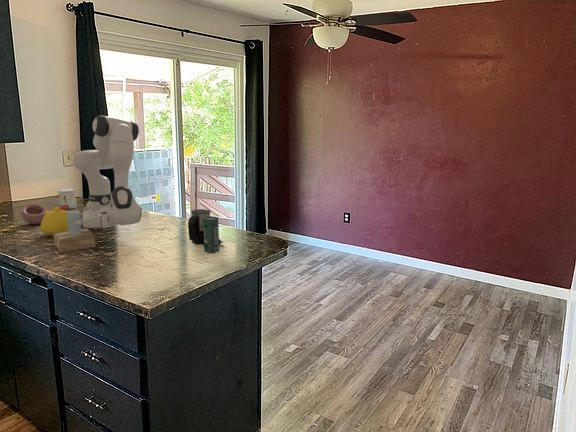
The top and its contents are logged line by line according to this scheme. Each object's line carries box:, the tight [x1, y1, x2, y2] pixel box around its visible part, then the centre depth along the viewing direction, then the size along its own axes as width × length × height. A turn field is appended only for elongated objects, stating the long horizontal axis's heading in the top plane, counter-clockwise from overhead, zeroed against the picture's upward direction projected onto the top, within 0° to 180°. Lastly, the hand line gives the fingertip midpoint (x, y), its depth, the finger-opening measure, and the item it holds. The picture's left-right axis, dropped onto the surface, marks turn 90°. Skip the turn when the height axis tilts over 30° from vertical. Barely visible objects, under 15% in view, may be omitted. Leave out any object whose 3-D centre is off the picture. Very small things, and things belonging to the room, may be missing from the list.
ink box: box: [58, 188, 78, 210], centre depth 274 cm, size 9×5×12 cm, turn 138°
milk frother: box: [187, 208, 224, 246], centre depth 201 cm, size 14×16×15 cm
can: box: [203, 215, 220, 254], centre depth 189 cm, size 6×6×15 cm
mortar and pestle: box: [20, 203, 47, 225], centre depth 234 cm, size 12×12×11 cm
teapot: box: [40, 206, 68, 239], centre depth 214 cm, size 20×16×14 cm
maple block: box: [53, 227, 96, 253], centre depth 196 cm, size 14×14×6 cm
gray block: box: [67, 210, 82, 235], centre depth 195 cm, size 5×5×10 cm
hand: (71, 219), depth 194 cm, fingers open, 8 cm apart
